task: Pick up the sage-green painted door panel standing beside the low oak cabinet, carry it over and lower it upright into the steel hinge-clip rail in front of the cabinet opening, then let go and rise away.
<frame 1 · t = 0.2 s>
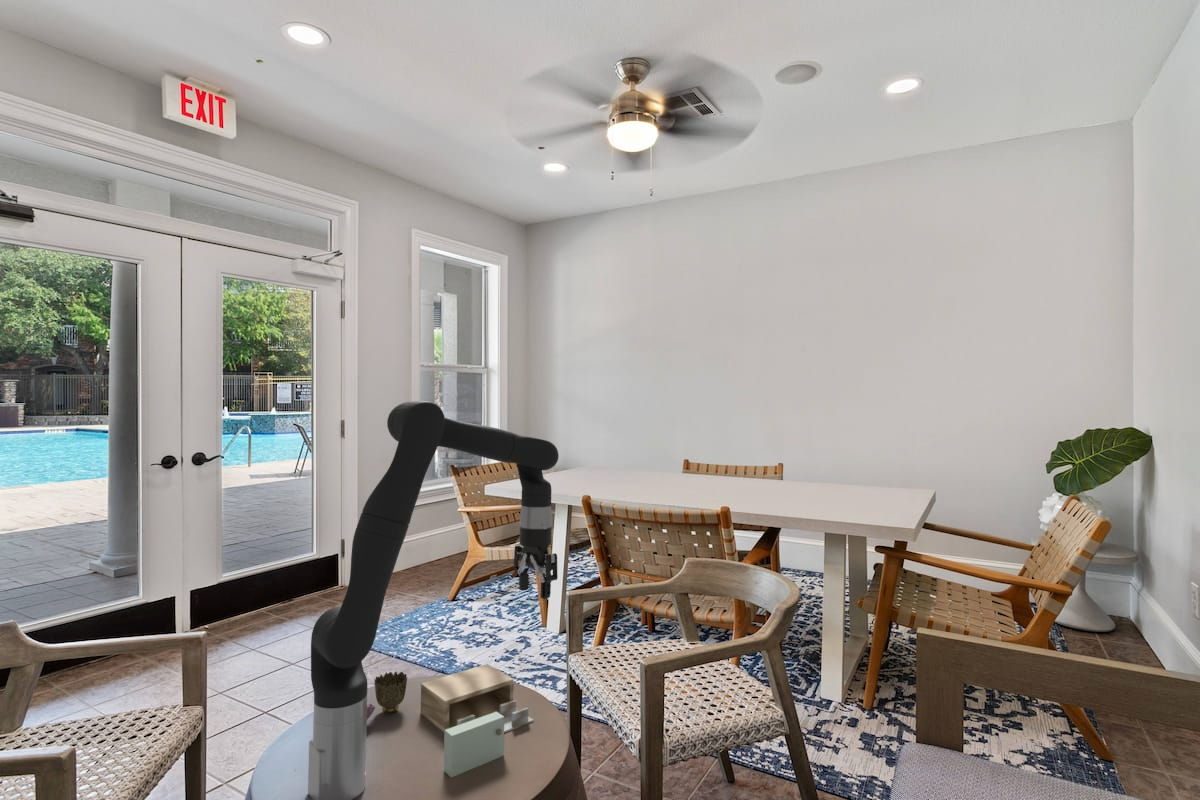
hand: (534, 594, 145), 29 cm above the table, fingers open, 8 cm apart
cabinet: (467, 711, 147), on the table
video game controller: (353, 733, 136), on the table
door: (474, 763, 125), on the table
cup: (390, 712, 146), on the table
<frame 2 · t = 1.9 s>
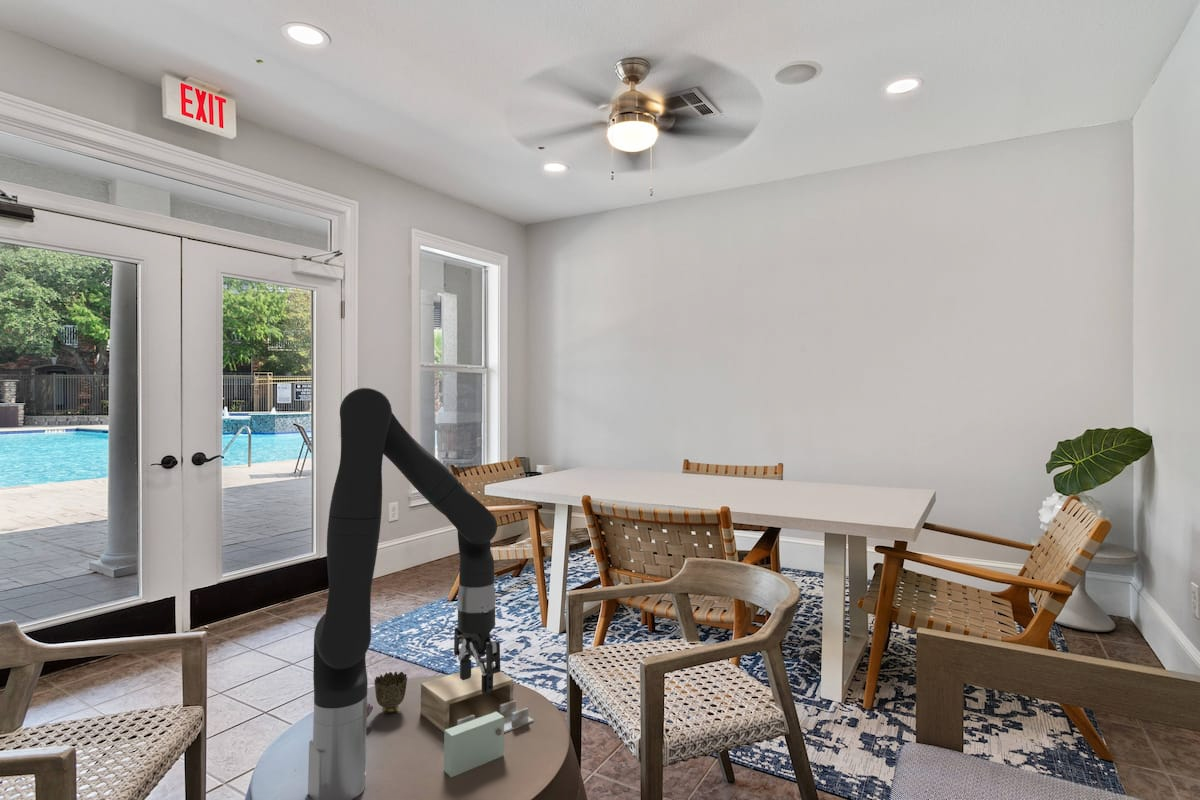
hand: (476, 685, 125), 15 cm above the table, fingers open, 8 cm apart
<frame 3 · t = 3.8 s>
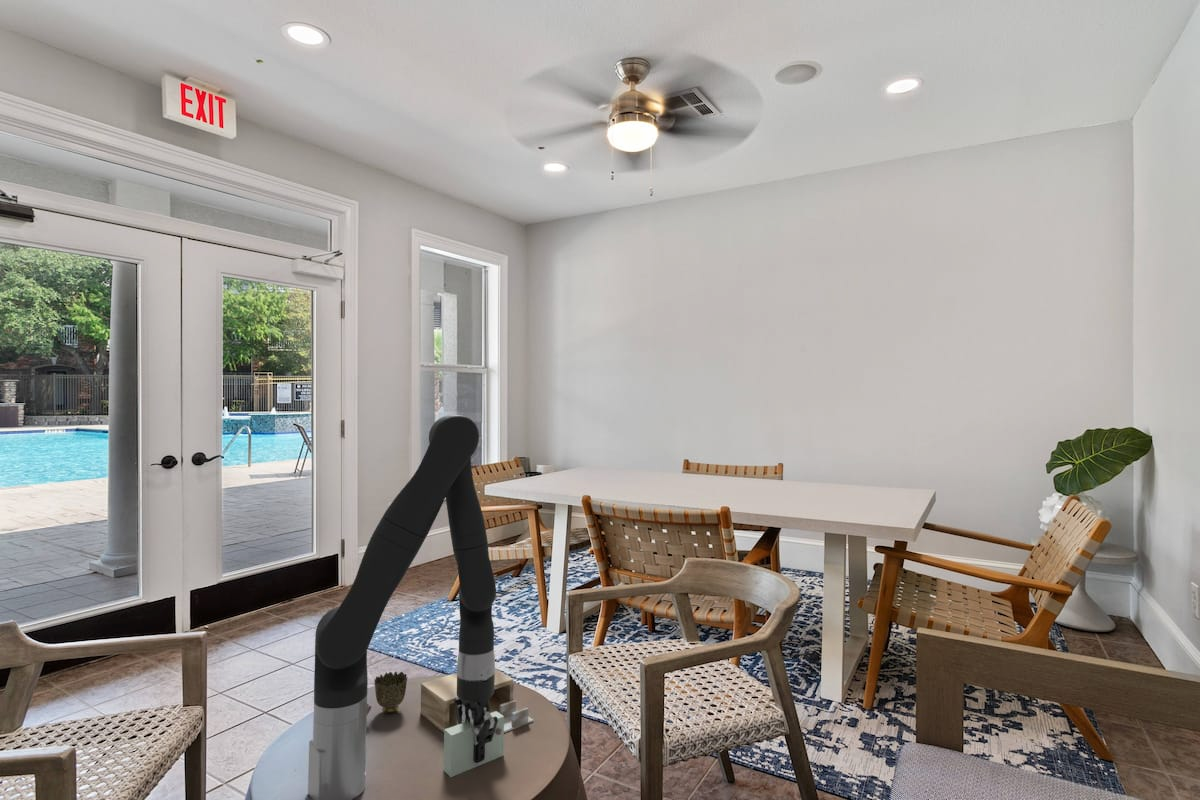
hand: (474, 757, 125), 1 cm above the table, fingers closed on door, 3 cm apart
door: (474, 762, 125), on the table, touching gripper
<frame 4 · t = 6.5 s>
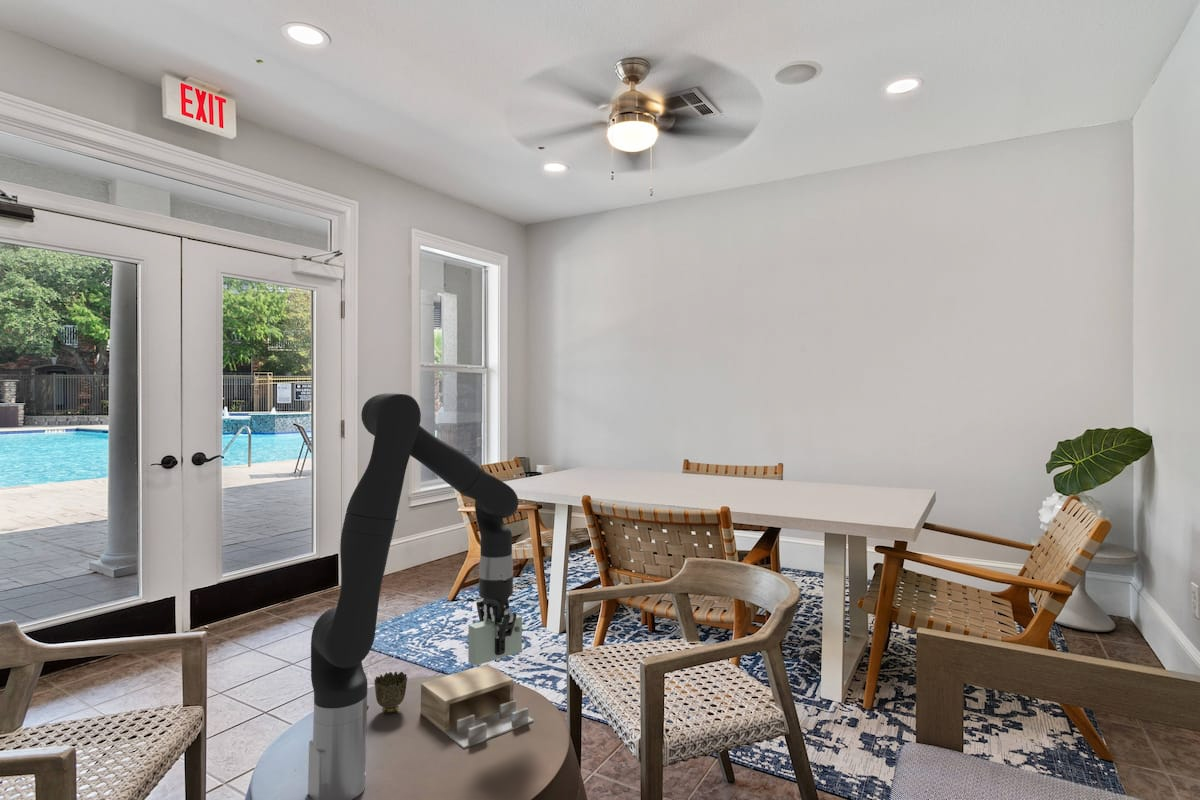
hand: (495, 651, 138), 18 cm above the table, fingers closed on door, 3 cm apart
door: (495, 656, 138), point 16 cm above the table, touching gripper
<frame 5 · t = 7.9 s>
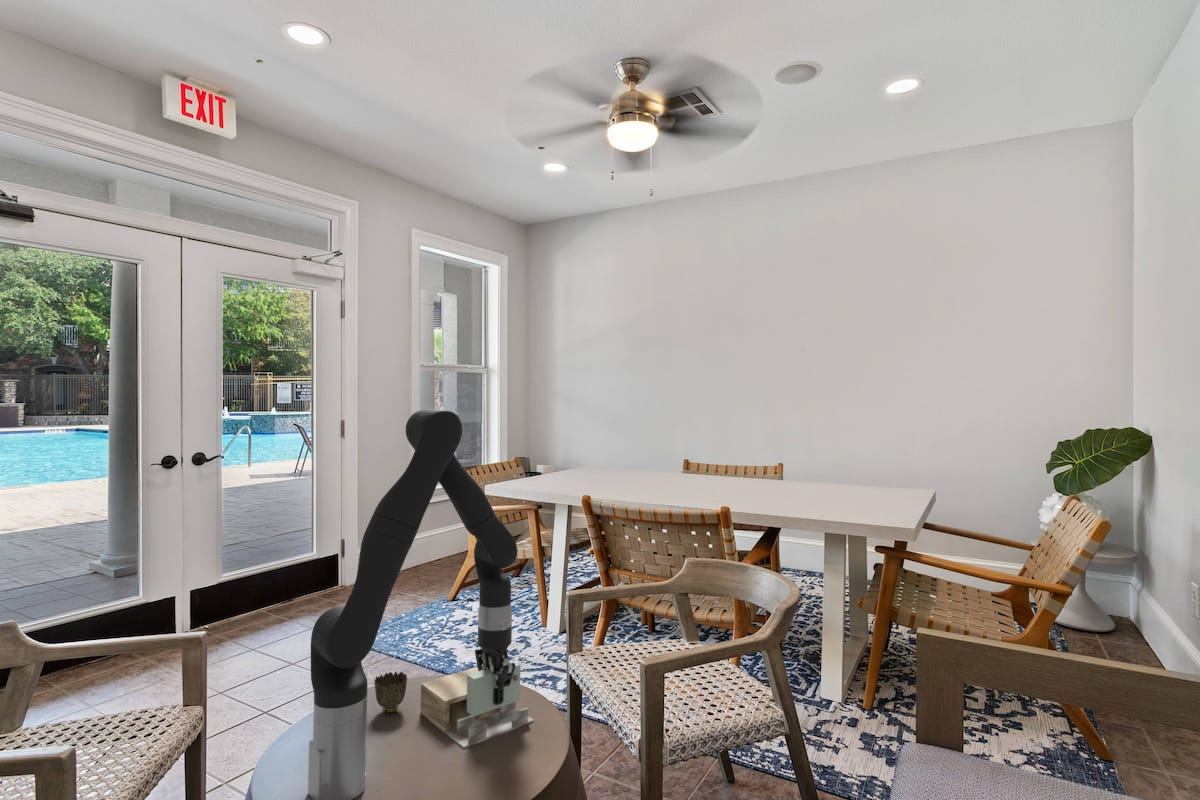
hand: (493, 700, 138), 6 cm above the table, fingers closed on door, 3 cm apart
door: (493, 705, 138), point 5 cm above the table, touching gripper
when the fingers open (3 cm above the table, at t = 9.2 s): door stays where it is, resting on cabinet.
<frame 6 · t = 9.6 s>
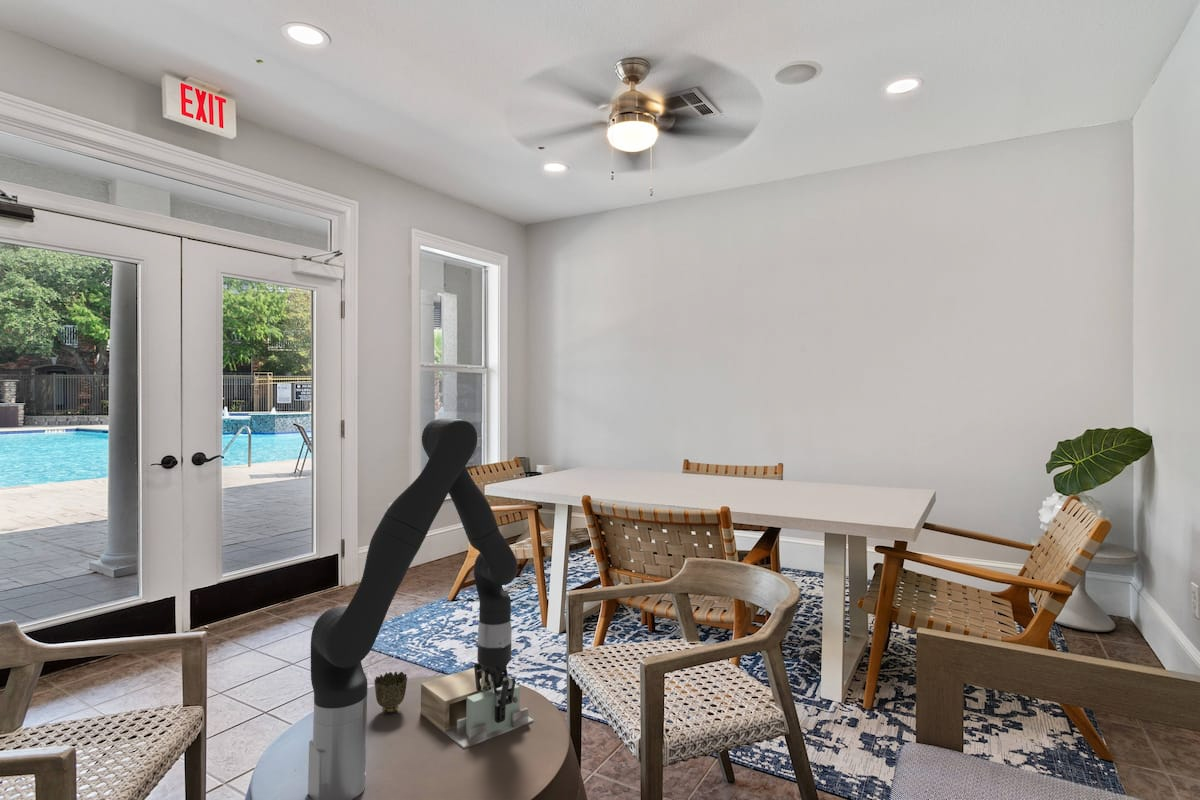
hand: (493, 716, 138), 3 cm above the table, fingers open, 5 cm apart
door: (493, 727, 138), resting on cabinet
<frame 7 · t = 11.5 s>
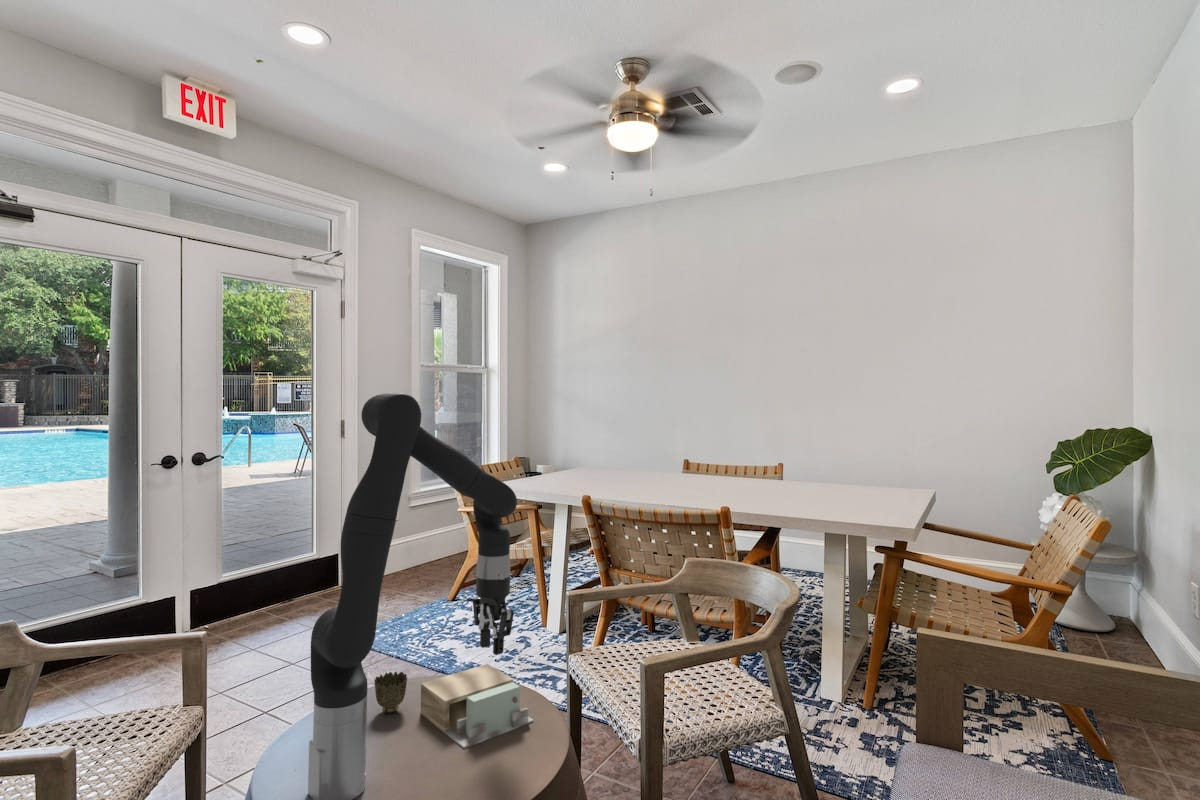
hand: (491, 649, 138), 18 cm above the table, fingers open, 5 cm apart
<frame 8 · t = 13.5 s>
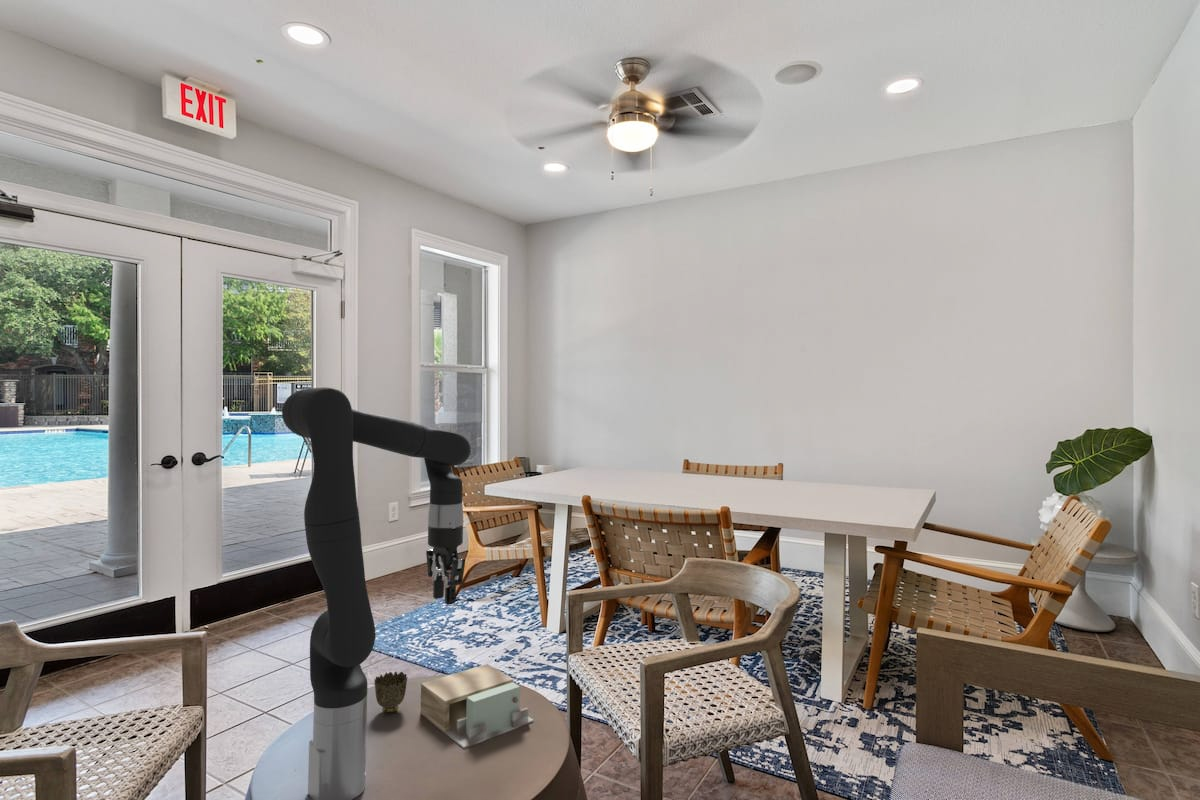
hand: (444, 600, 136), 29 cm above the table, fingers open, 5 cm apart
at the end: door 0.1 cm from the target spot on the cabinet, point 0.4 cm above the cabinet's base; door tilted 0°; the gripper is holding nothing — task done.
